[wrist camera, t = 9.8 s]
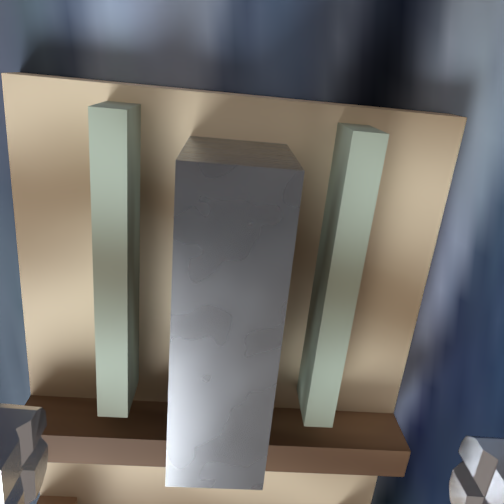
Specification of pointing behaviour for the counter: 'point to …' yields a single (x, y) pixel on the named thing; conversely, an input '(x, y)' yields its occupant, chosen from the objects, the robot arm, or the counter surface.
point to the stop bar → (228, 307)
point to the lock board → (160, 280)
